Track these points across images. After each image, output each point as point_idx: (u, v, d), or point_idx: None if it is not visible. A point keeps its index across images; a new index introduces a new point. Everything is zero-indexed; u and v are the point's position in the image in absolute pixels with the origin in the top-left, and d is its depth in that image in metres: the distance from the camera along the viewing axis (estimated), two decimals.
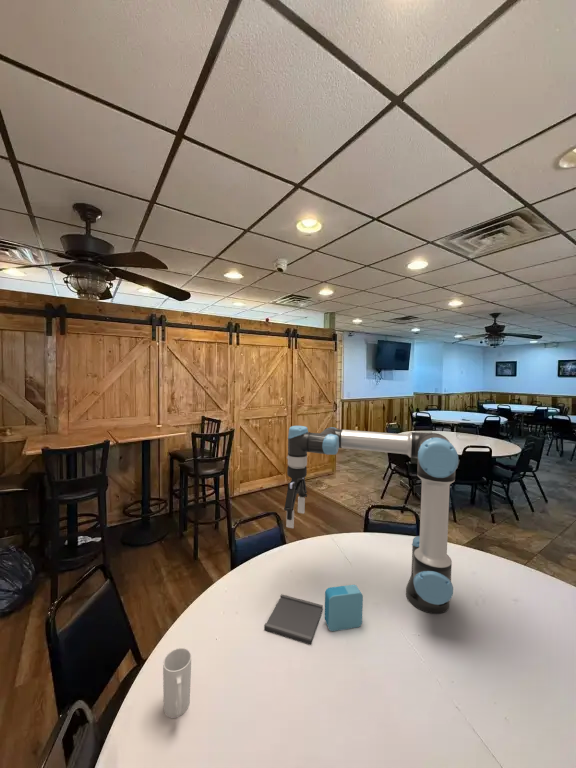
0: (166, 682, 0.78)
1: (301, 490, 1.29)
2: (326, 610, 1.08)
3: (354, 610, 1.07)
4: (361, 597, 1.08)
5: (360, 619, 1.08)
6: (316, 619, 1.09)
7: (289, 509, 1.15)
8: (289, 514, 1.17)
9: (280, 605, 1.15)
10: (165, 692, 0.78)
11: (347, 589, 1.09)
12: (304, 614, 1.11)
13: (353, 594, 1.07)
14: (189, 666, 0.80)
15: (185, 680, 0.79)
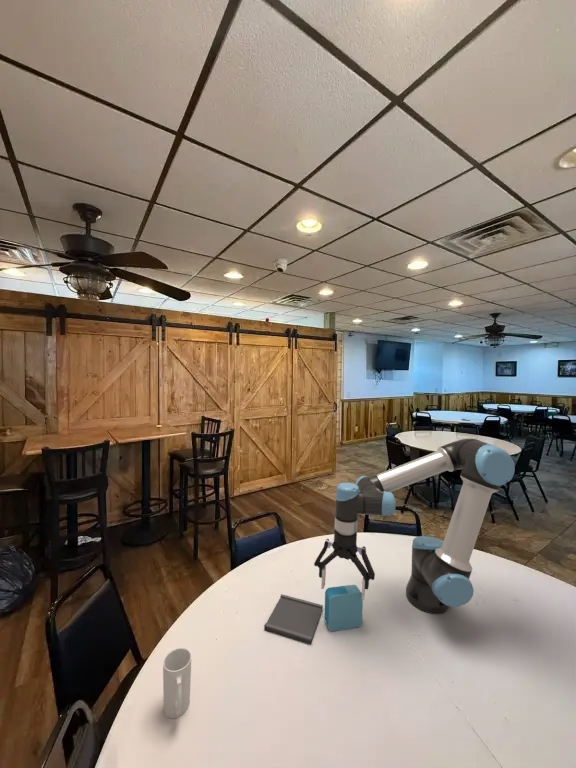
0: (166, 682, 0.78)
1: None
2: (326, 610, 1.08)
3: (354, 610, 1.07)
4: (361, 597, 1.08)
5: (360, 619, 1.08)
6: (316, 619, 1.09)
7: None
8: (319, 570, 1.11)
9: (280, 605, 1.15)
10: (165, 692, 0.78)
11: (347, 589, 1.09)
12: (304, 614, 1.11)
13: (353, 594, 1.07)
14: (189, 666, 0.80)
15: (185, 680, 0.79)
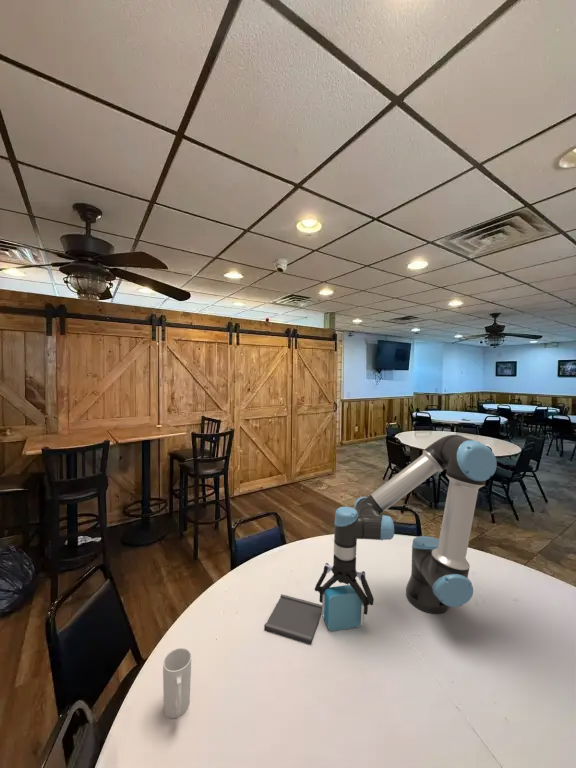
0: (166, 682, 0.78)
1: None
2: (326, 610, 1.08)
3: (354, 609, 1.07)
4: None
5: (360, 619, 1.08)
6: (316, 619, 1.09)
7: (315, 587, 1.11)
8: (320, 595, 1.11)
9: (280, 605, 1.15)
10: (165, 692, 0.78)
11: (347, 589, 1.09)
12: (304, 614, 1.11)
13: (353, 594, 1.07)
14: (189, 666, 0.80)
15: (185, 680, 0.79)
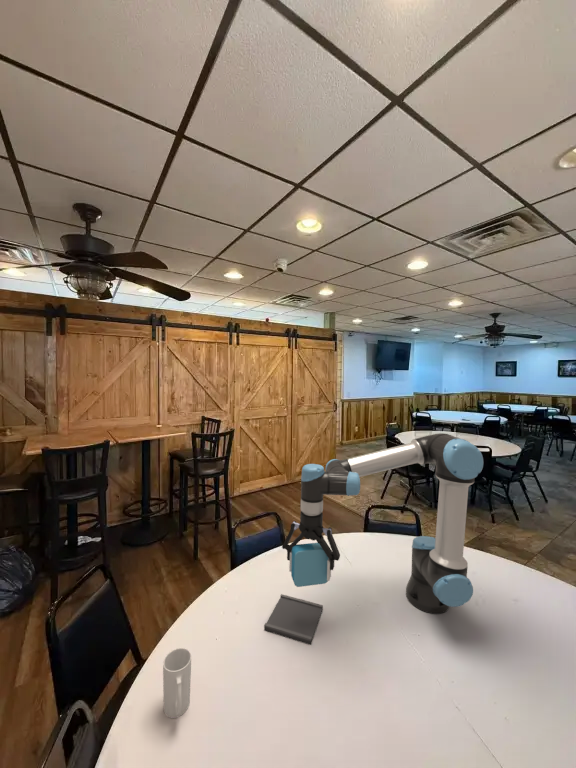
0: (166, 682, 0.78)
1: None
2: (292, 566, 1.07)
3: (321, 566, 1.07)
4: None
5: (326, 575, 1.07)
6: (316, 619, 1.09)
7: None
8: None
9: (280, 605, 1.15)
10: (165, 692, 0.78)
11: (314, 546, 1.08)
12: (304, 614, 1.11)
13: (319, 550, 1.06)
14: (189, 666, 0.80)
15: (185, 680, 0.79)
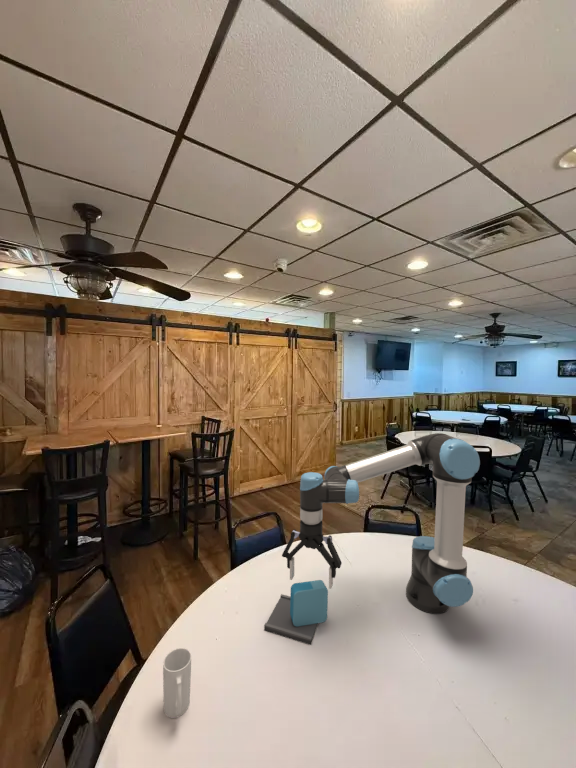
0: (166, 682, 0.78)
1: None
2: (291, 606, 1.08)
3: (319, 605, 1.07)
4: (326, 592, 1.08)
5: (325, 614, 1.08)
6: None
7: None
8: None
9: (280, 605, 1.15)
10: (165, 692, 0.78)
11: (312, 584, 1.09)
12: None
13: (318, 589, 1.07)
14: (189, 666, 0.80)
15: (185, 680, 0.79)
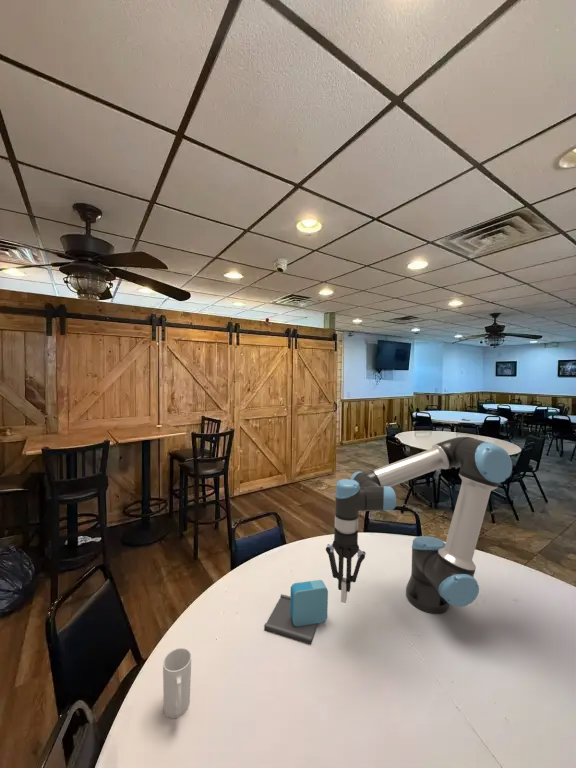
0: (166, 682, 0.78)
1: None
2: (291, 606, 1.08)
3: (319, 605, 1.07)
4: (326, 592, 1.08)
5: (325, 614, 1.08)
6: None
7: None
8: None
9: (280, 605, 1.15)
10: (165, 692, 0.78)
11: (312, 584, 1.09)
12: None
13: (318, 589, 1.07)
14: (189, 666, 0.80)
15: (185, 680, 0.79)
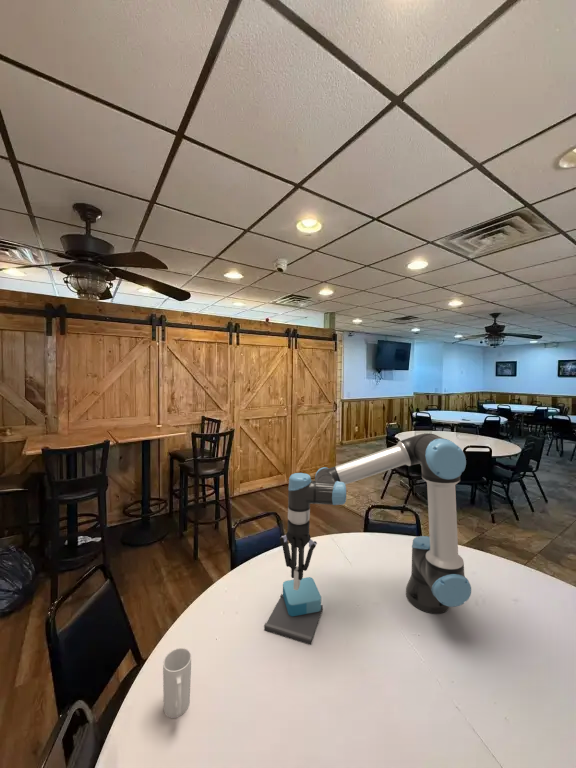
0: (166, 682, 0.78)
1: None
2: (285, 599, 1.15)
3: (309, 588, 1.17)
4: (312, 579, 1.22)
5: (318, 593, 1.15)
6: (316, 619, 1.09)
7: None
8: None
9: (280, 605, 1.15)
10: (165, 692, 0.78)
11: None
12: (304, 614, 1.11)
13: (303, 578, 1.23)
14: (189, 666, 0.80)
15: (185, 680, 0.79)
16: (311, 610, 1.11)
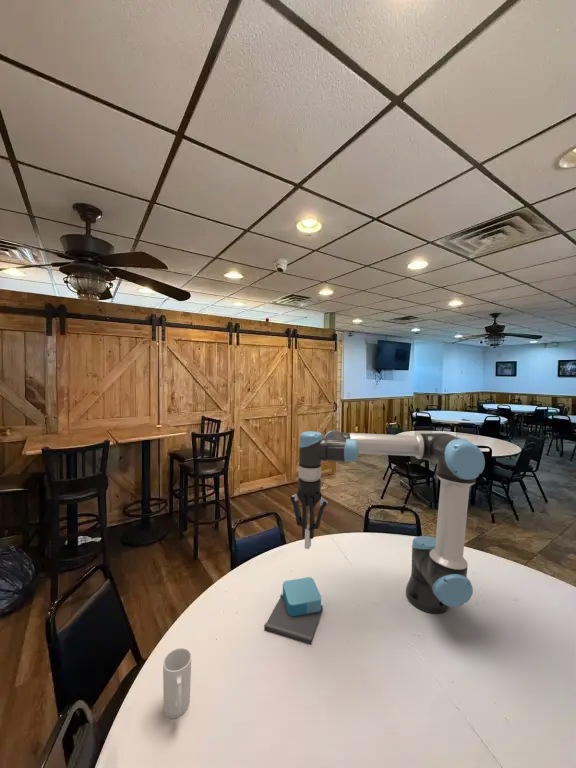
0: (166, 682, 0.78)
1: None
2: (285, 599, 1.15)
3: (309, 588, 1.17)
4: (312, 579, 1.22)
5: (318, 594, 1.15)
6: (316, 619, 1.09)
7: None
8: None
9: (280, 605, 1.15)
10: (165, 692, 0.78)
11: None
12: (304, 614, 1.11)
13: (303, 578, 1.23)
14: (189, 666, 0.80)
15: (185, 680, 0.79)
16: (311, 610, 1.11)
